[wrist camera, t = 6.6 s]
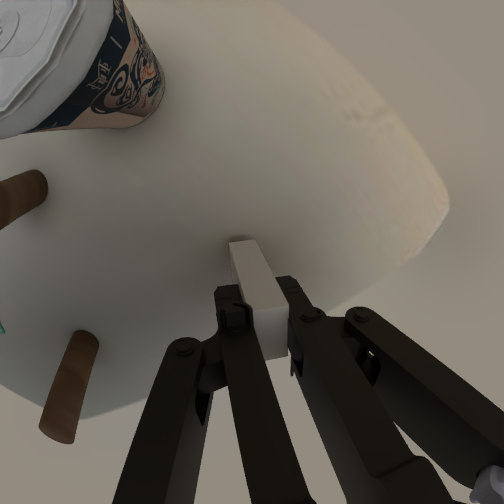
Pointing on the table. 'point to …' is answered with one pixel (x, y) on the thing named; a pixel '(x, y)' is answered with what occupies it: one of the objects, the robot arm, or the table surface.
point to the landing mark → (1, 329)
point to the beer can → (74, 67)
